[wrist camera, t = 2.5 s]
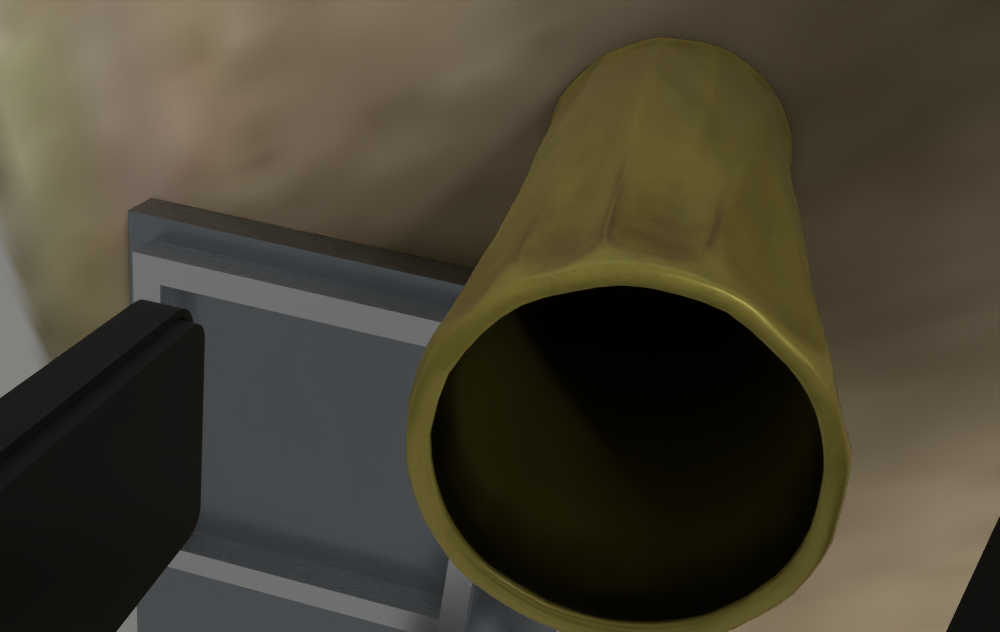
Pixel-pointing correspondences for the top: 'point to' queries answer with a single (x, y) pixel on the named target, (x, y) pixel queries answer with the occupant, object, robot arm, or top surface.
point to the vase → (639, 365)
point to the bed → (303, 432)
